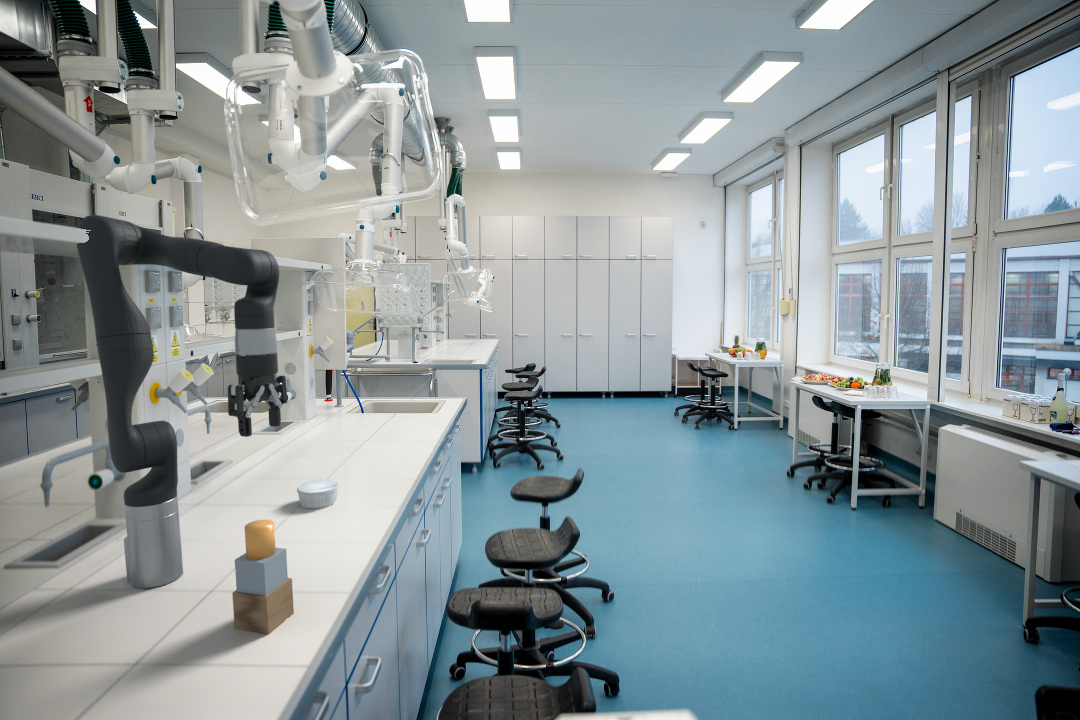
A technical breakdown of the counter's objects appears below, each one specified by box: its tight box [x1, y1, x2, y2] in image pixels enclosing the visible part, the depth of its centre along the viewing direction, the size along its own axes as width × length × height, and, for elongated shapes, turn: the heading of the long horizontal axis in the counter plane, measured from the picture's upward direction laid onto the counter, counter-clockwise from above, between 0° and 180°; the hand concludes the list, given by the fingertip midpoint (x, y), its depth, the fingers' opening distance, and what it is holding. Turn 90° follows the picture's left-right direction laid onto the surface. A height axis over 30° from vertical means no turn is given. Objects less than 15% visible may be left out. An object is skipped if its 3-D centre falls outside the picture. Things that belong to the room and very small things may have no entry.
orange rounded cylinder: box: [244, 519, 276, 560], centre depth 107 cm, size 5×5×6 cm
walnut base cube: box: [231, 577, 295, 636], centre depth 108 cm, size 7×7×7 cm
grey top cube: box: [234, 546, 289, 596], centre depth 107 cm, size 6×6×6 cm
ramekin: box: [296, 479, 340, 510], centre depth 168 cm, size 11×11×5 cm
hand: (260, 431), depth 119 cm, fingers open, 8 cm apart
